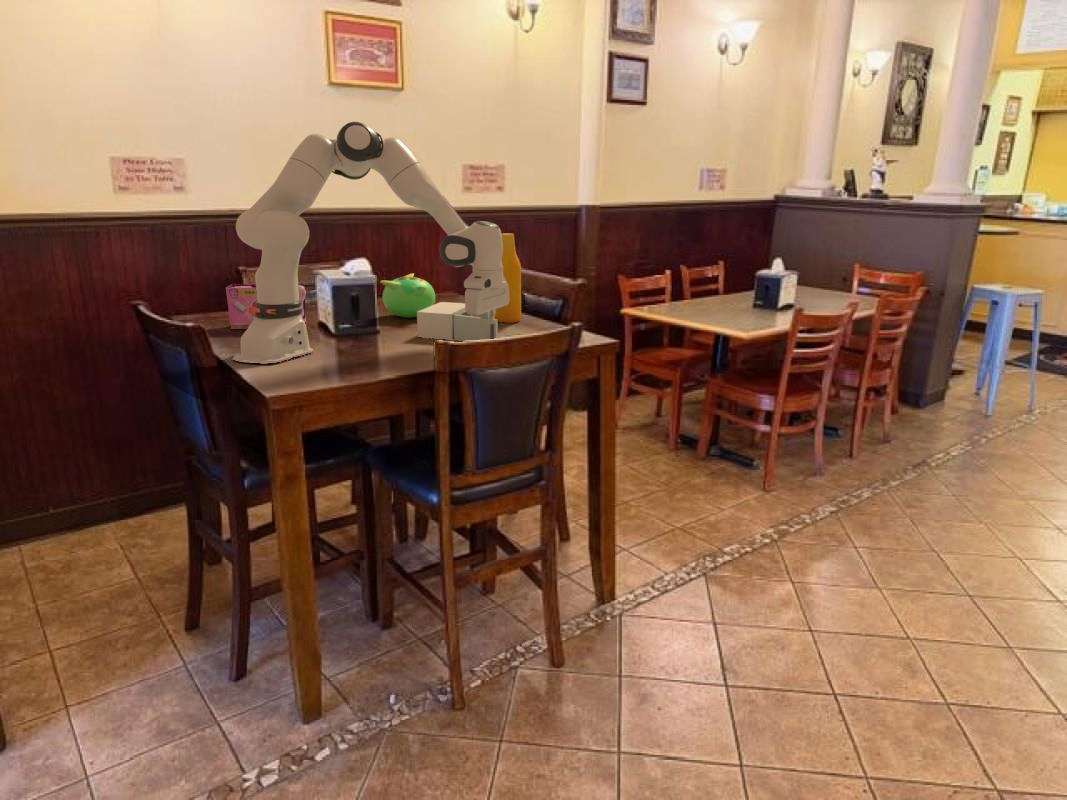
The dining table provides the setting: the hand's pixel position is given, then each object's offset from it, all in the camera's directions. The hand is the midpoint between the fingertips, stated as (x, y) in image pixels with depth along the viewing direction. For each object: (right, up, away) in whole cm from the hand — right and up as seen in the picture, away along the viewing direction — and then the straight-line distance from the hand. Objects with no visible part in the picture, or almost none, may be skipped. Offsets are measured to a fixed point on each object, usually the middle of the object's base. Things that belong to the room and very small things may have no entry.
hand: (488, 325), depth 223 cm
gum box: (-73, +1, +21) cm, 76 cm away
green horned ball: (-30, +6, +38) cm, 49 cm away
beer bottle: (+4, +5, +34) cm, 34 cm away
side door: (-5, -5, +1) cm, 7 cm away
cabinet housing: (-14, -1, +14) cm, 20 cm away
